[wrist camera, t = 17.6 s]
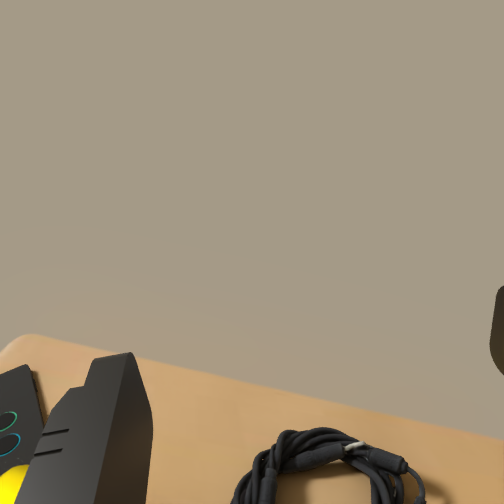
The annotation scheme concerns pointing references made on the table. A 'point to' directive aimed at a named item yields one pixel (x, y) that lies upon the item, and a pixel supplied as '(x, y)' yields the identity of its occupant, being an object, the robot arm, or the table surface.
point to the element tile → (11, 483)
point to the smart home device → (18, 418)
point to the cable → (319, 453)
